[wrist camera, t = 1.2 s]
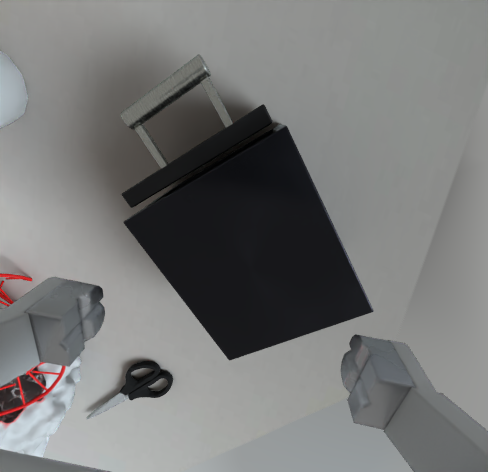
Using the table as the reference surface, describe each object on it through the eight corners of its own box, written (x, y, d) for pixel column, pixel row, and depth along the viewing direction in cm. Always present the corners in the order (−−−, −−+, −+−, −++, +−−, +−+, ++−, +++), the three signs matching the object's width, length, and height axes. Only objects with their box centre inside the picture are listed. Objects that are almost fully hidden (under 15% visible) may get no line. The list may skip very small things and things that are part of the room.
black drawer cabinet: (170, 189, 27) (122, 222, 19) (280, 123, 24) (286, 125, 15) (240, 294, 32) (229, 361, 23) (342, 251, 28) (374, 311, 20)
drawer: (131, 127, 24) (73, 130, 17) (238, 50, 21) (220, 14, 14) (232, 278, 30) (219, 328, 23) (328, 236, 27) (348, 278, 20)
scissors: (106, 427, 46) (180, 381, 39) (103, 432, 45) (179, 386, 39) (74, 405, 44) (147, 354, 38) (71, 411, 44) (144, 359, 37)
